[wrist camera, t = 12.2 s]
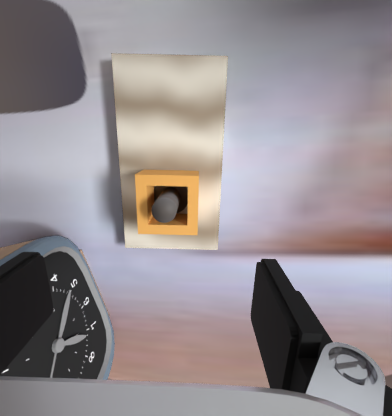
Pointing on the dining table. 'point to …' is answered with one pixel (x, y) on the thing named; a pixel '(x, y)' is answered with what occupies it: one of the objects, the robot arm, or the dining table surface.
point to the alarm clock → (66, 318)
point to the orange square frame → (145, 201)
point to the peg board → (171, 139)
